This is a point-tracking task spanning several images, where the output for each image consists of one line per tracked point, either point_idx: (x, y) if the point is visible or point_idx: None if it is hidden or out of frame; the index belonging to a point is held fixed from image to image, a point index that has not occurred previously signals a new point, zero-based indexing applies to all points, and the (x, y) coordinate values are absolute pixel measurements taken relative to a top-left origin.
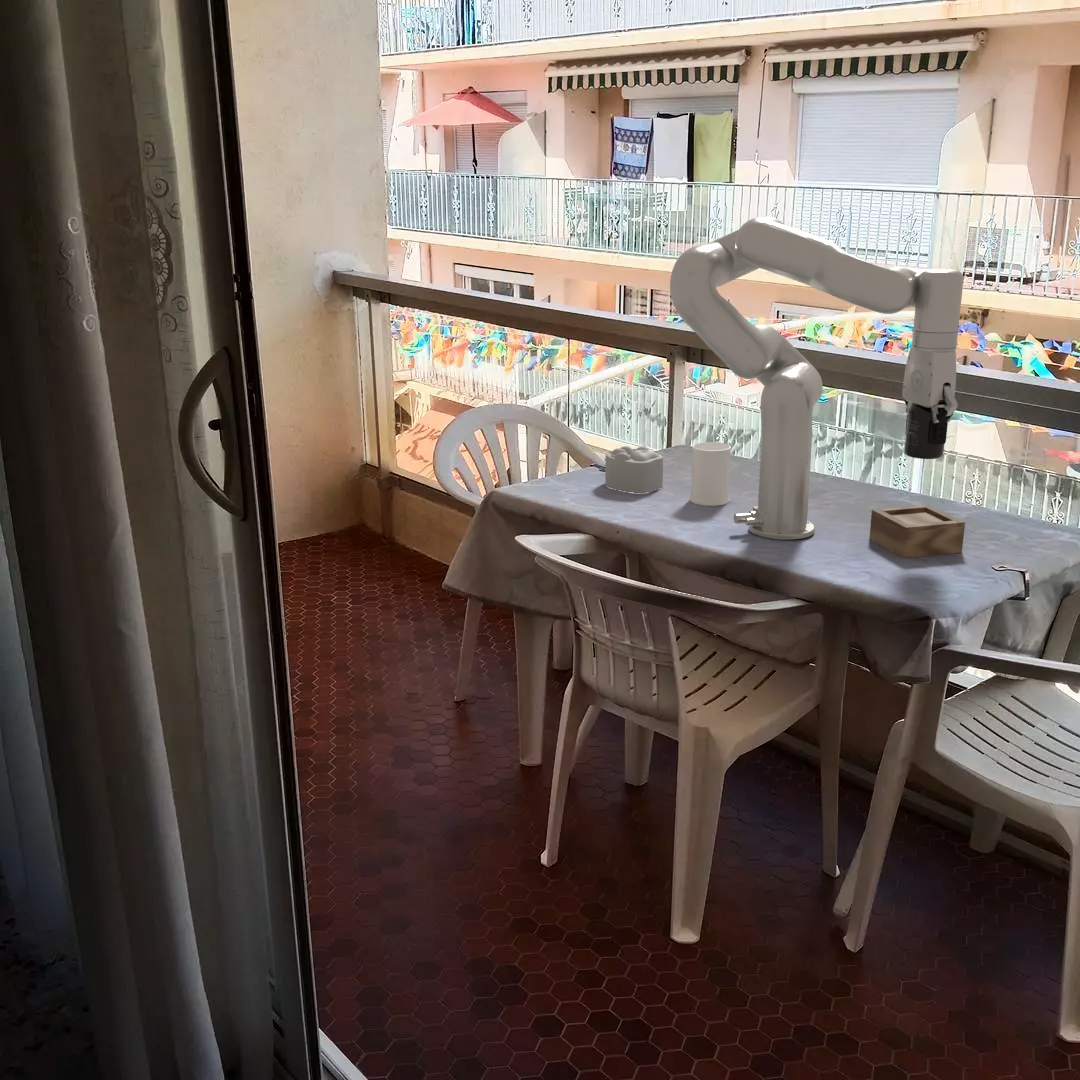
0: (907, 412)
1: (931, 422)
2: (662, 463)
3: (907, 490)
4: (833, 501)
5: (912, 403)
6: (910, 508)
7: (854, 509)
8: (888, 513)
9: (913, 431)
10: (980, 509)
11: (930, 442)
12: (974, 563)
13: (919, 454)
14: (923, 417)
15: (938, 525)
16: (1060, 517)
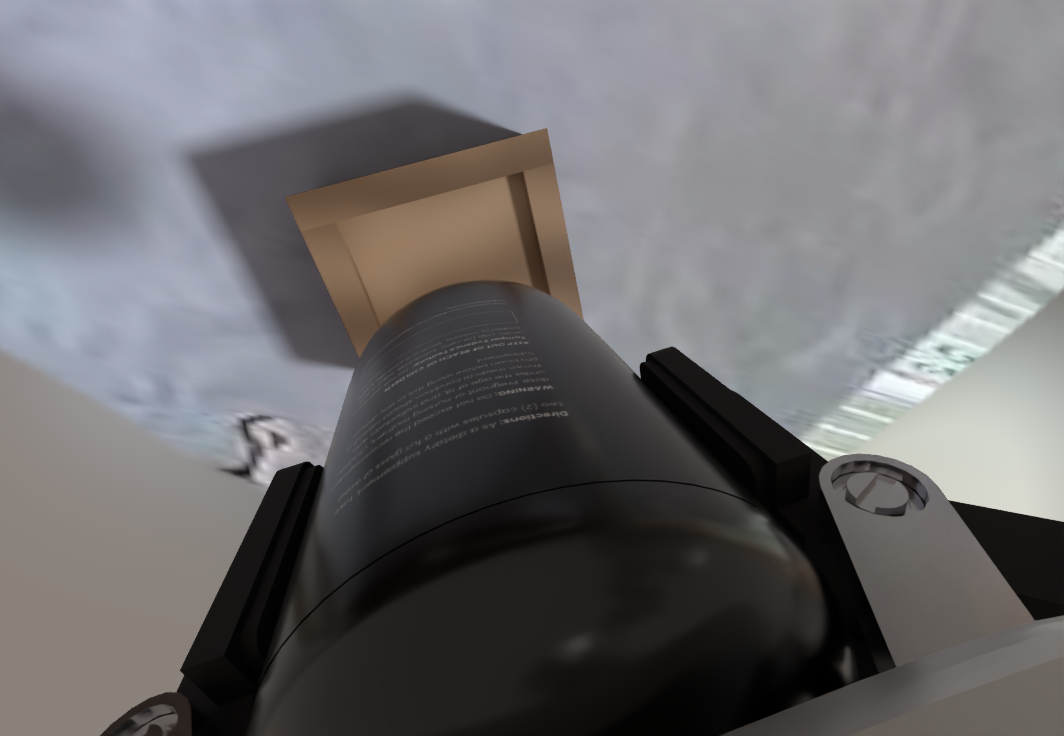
0: (859, 469)
1: (219, 666)
2: None
3: (897, 367)
4: (895, 133)
5: (888, 654)
6: (551, 287)
7: (806, 179)
8: (527, 196)
9: (395, 393)
10: None
11: (280, 480)
12: (298, 383)
13: (359, 358)
14: (276, 643)
15: (348, 331)
16: None
